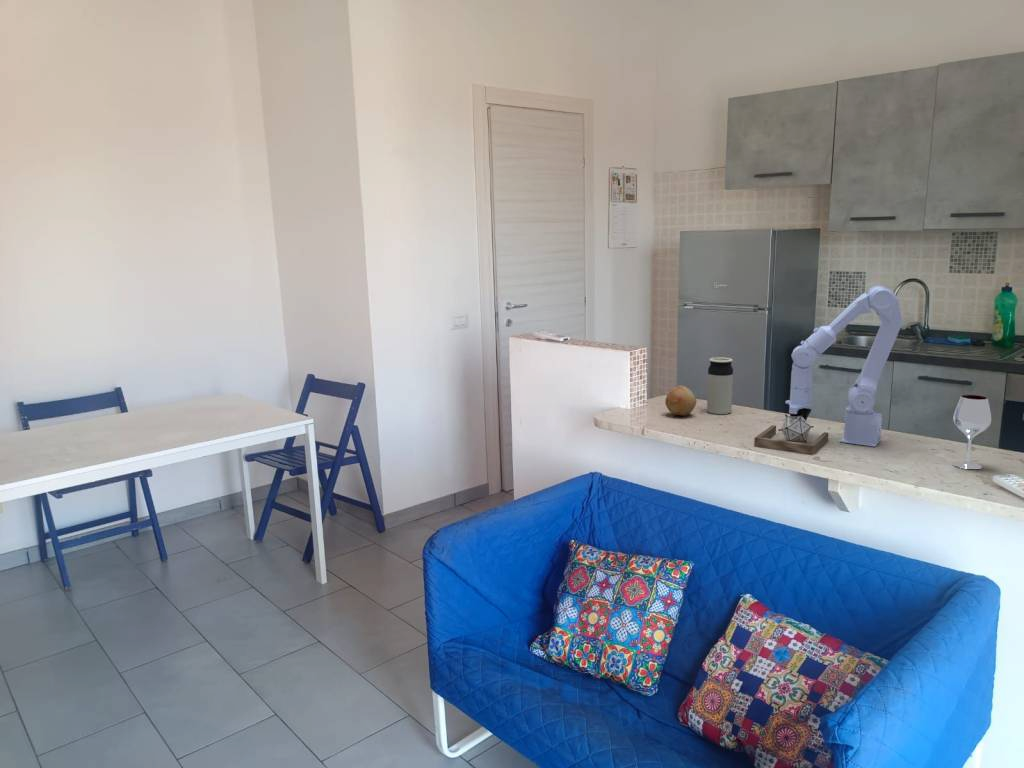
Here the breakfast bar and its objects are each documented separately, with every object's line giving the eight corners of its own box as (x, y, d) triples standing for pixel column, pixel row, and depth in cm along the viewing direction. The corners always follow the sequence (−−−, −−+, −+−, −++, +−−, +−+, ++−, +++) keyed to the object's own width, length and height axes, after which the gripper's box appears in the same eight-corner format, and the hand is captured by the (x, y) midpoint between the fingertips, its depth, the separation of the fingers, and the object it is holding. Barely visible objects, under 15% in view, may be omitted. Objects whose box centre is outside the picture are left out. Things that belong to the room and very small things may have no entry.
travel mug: (728, 415, 248) (730, 361, 245) (703, 413, 252) (705, 360, 249) (734, 410, 255) (736, 358, 252) (710, 408, 259) (712, 356, 256)
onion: (698, 419, 245) (699, 388, 243) (667, 419, 246) (668, 389, 244) (693, 411, 255) (694, 382, 253) (663, 412, 255) (663, 383, 253)
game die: (800, 456, 216) (810, 434, 208) (771, 443, 219) (780, 421, 211) (810, 435, 221) (820, 413, 213) (781, 422, 224) (791, 400, 216)
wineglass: (993, 469, 190) (1001, 399, 186) (968, 472, 187) (975, 401, 184) (966, 460, 197) (973, 392, 194) (941, 463, 195) (947, 395, 191)
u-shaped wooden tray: (828, 441, 217) (828, 432, 217) (813, 454, 204) (813, 445, 204) (771, 433, 226) (772, 425, 226) (754, 446, 214) (754, 437, 213)
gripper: (794, 381, 226) (791, 425, 229) (779, 390, 215) (776, 436, 217) (818, 384, 222) (816, 429, 225) (805, 393, 211) (802, 440, 213)
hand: (798, 433), depth 221 cm, fingers closed
